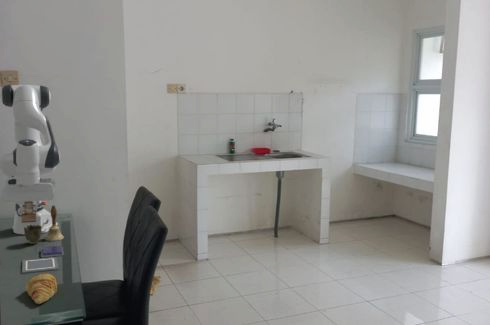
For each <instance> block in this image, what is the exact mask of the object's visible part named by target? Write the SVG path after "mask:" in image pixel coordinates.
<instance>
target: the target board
mask: <svg viewBox="0 0 490 325" xmlns="http://www.w3.org/2000/svg"><path fill="white" fill-rule="evenodd" d="M21 264H22V268H21V273H22V274H29V273H30V274H31V273H32V274H33V273H42V272H50V271H58V270H59V263H58V256H52V257H42V258H36V259H23V260H22V263H21Z"/></svg>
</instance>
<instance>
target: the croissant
mask: <svg viewBox="0 0 490 325" xmlns="http://www.w3.org/2000/svg"><path fill="white" fill-rule="evenodd" d="M25 291H26V293H27V295H28V296H29V297H31V299H32V300H33V302H34V303H35V304H37V305H40V304H43V303H45V302H47V301H49V299H51V298H53V296H54V295H56V293H57V291H58V283H57V279H56V277H55V276H54V274H53V275H52V274H50V273H48V272H44V273H40V274H37V275H35V276H33V277H31V278H30V279H29V280H28V281H27V283H26V284H25Z"/></svg>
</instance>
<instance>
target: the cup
mask: <svg viewBox="0 0 490 325" xmlns="http://www.w3.org/2000/svg"><path fill="white" fill-rule="evenodd" d="M41 230H42V227H41V226H40V225H39V226H38V225H36V226H35V225H34V226H32V225H30V226H27V228H25V227H24V232H25V234H24V237H25V240H26V241H28V244H29V245H32V246H33V244H34V245H37V244H38V241H39V240H40V239H41V236H42V233H41Z"/></svg>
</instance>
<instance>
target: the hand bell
mask: <svg viewBox="0 0 490 325" xmlns="http://www.w3.org/2000/svg"><path fill="white" fill-rule="evenodd" d="M50 213H51V217H52V226H51V227H50V228H49V231H48V232H47V235H46V236H45V238H44V240H45V241H48V242H57V241H62V240H63V239H65V236H64V235H63V234H62V233H61V230H60V227H59V226H58V225H57V226H56V222H57V221H56V219H57V208H56V205H51V208H50Z"/></svg>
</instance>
